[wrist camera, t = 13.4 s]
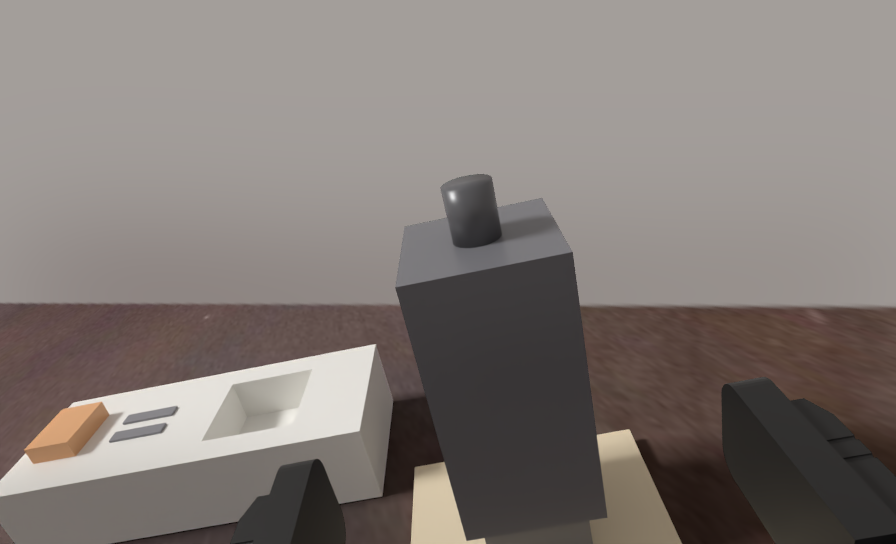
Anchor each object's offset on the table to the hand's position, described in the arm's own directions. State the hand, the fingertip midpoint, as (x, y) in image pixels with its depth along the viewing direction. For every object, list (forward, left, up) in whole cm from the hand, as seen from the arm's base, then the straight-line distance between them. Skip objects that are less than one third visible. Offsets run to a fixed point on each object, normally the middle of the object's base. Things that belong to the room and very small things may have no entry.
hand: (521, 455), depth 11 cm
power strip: (-17, +12, -9) cm, 23 cm away
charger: (0, +6, -9) cm, 11 cm away
